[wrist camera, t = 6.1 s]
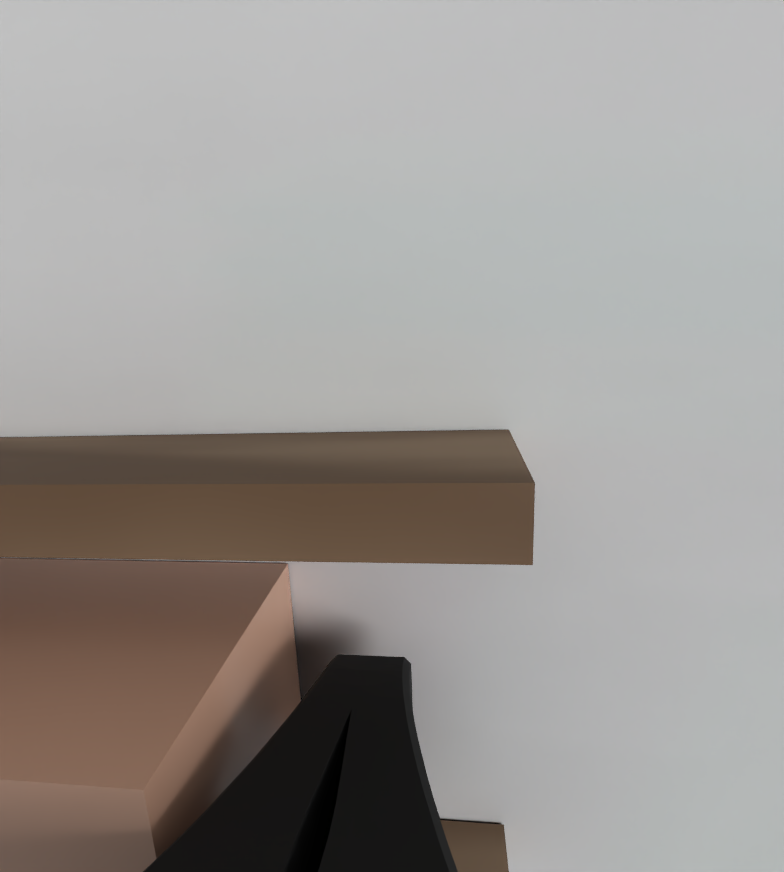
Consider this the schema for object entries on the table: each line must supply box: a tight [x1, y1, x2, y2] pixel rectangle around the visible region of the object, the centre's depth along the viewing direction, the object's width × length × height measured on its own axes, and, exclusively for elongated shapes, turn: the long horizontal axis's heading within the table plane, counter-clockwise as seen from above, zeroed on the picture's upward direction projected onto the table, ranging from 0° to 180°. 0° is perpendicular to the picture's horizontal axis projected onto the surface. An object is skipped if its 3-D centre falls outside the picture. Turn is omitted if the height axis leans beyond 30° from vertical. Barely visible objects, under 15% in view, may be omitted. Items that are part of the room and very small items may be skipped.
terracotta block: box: [0, 558, 301, 872], centre depth 8 cm, size 4×6×4 cm, turn 92°
